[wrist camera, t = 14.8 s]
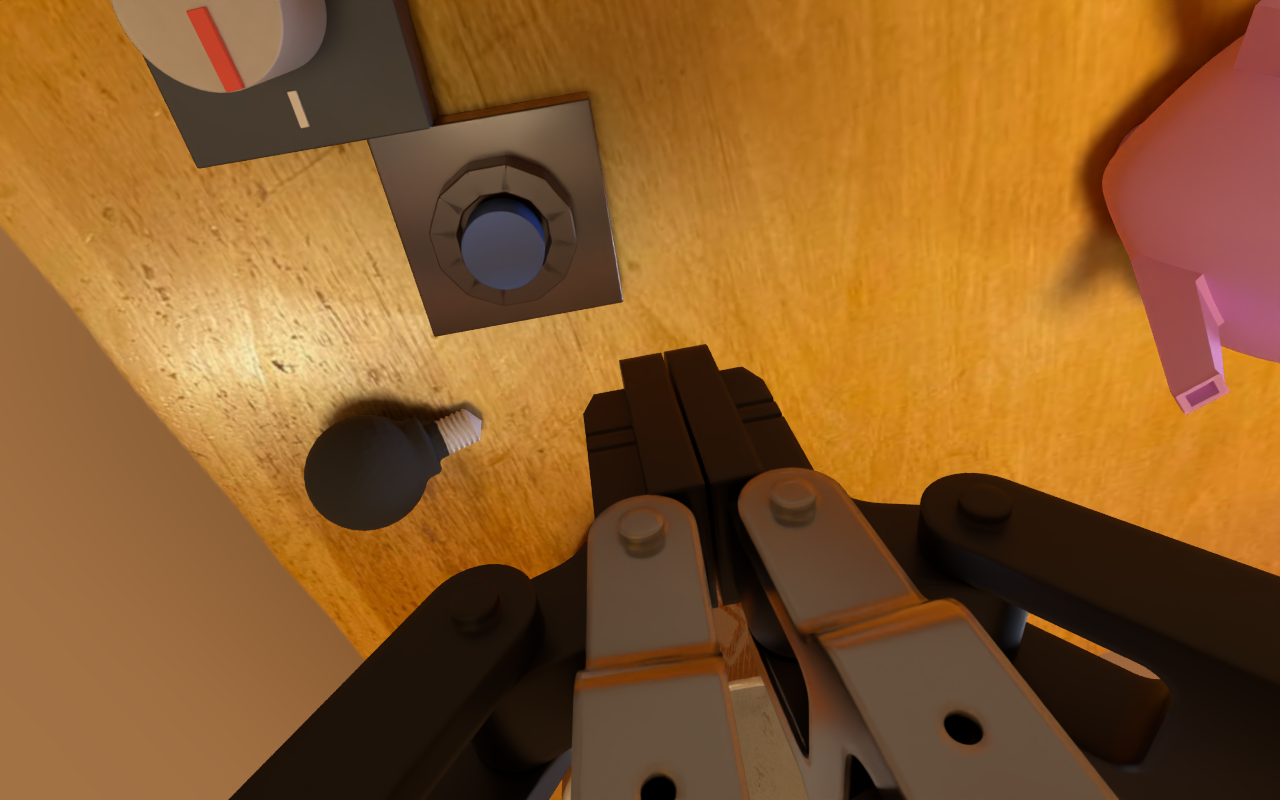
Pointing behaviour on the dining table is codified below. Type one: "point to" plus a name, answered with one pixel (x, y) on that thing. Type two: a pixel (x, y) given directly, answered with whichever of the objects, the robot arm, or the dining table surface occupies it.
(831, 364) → the dining table surface
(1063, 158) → the dining table surface
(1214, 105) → the teapot
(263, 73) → the dimmer
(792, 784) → the planter
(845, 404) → the dining table surface
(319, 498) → the light bulb
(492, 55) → the dining table surface
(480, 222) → the switch button
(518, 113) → the switch block
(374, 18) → the dimmer panel
